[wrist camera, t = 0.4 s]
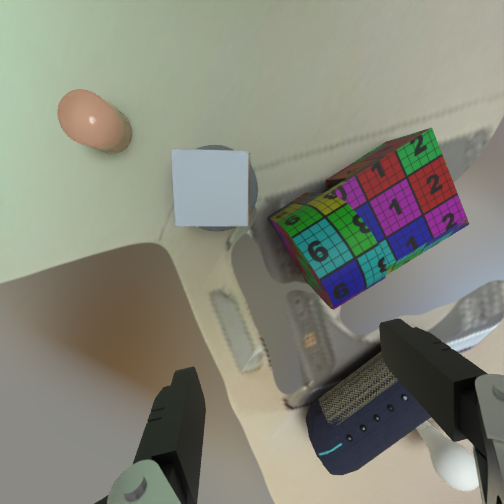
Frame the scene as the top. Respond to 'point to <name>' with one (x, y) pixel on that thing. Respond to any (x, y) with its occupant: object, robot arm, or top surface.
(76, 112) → the peach rounded cylinder
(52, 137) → the top surface
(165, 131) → the top surface
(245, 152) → the grey-blue top block
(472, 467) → the lightbulb
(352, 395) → the portable speaker
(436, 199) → the numbered checker block
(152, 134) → the top surface
